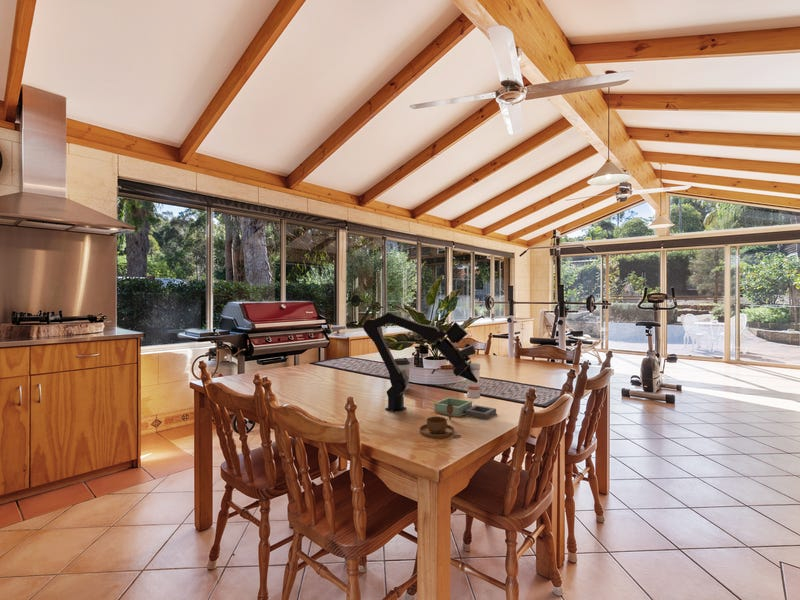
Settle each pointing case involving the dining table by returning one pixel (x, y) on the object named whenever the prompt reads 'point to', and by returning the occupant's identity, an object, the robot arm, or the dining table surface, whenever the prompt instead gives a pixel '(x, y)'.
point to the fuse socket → (480, 412)
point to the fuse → (472, 386)
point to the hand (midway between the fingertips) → (477, 380)
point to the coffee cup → (403, 365)
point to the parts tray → (458, 406)
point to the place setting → (439, 426)
